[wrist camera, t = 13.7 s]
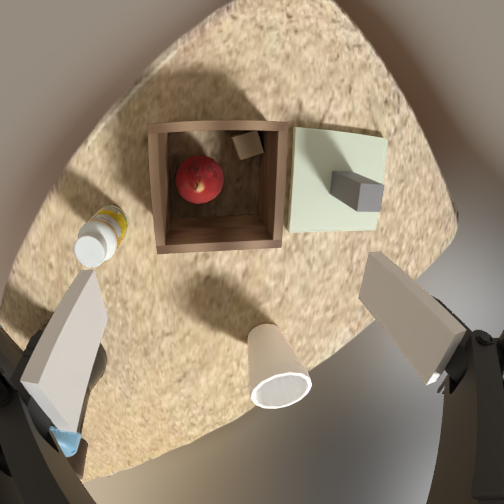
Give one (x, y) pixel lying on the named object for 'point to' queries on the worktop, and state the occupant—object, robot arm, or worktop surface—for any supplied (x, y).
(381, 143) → the lid
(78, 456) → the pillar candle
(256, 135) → the maple cube
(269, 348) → the foam cup
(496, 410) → the robot arm
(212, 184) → the red apple
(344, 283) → the worktop surface
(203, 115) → the worktop surface
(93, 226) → the supplement bottle
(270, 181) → the box
